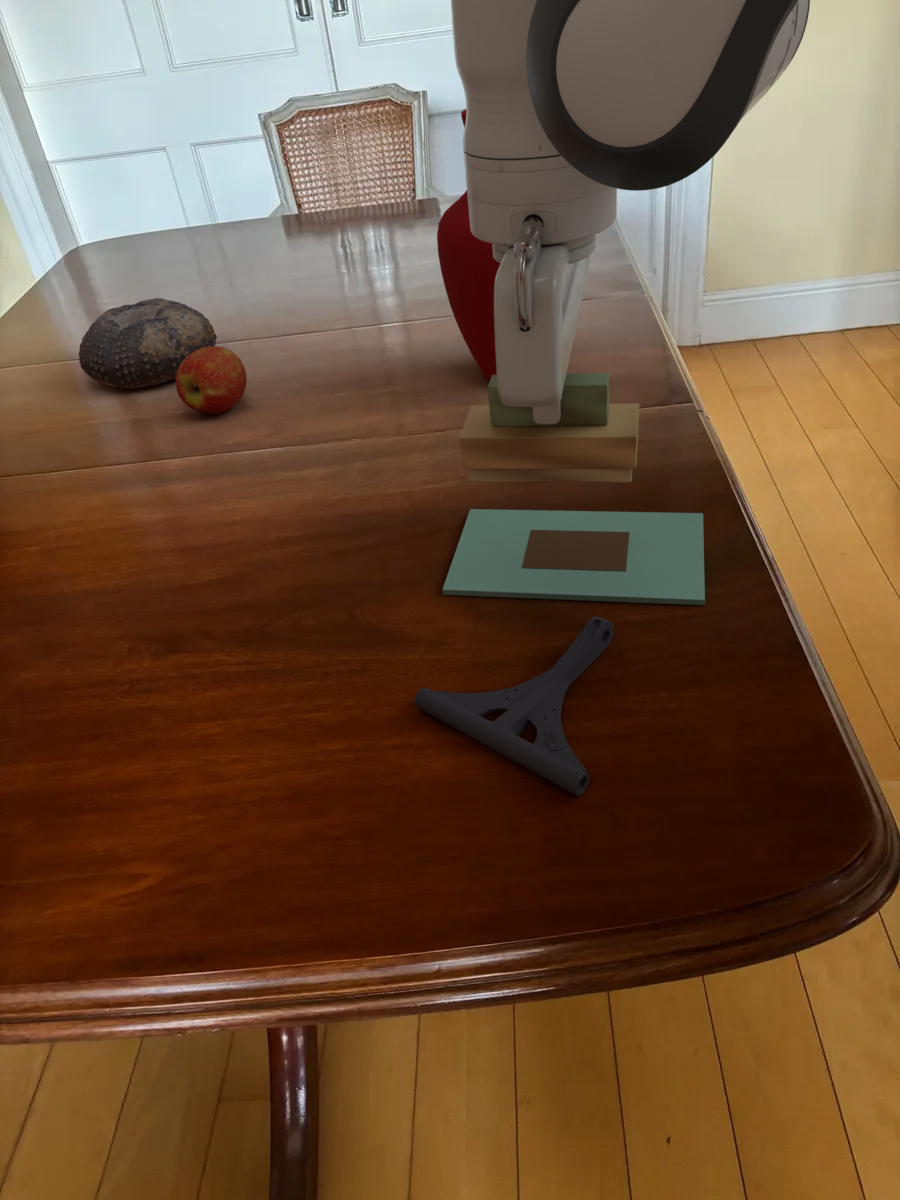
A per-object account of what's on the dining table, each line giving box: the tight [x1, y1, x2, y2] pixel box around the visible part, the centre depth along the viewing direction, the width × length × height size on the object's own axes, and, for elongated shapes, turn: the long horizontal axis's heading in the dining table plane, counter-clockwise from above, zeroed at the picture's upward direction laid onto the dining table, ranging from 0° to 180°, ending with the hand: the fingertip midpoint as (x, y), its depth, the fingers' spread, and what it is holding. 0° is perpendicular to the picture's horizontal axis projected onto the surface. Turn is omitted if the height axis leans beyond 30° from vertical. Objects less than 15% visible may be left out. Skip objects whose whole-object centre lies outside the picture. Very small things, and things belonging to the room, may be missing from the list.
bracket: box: [413, 616, 615, 797], centre depth 66 cm, size 14×15×3 cm
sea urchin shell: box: [78, 297, 218, 390], centre depth 125 cm, size 19×19×10 cm
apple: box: [175, 346, 248, 415], centre depth 112 cm, size 8×8×8 cm
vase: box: [436, 108, 501, 382], centre depth 104 cm, size 15×15×30 cm
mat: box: [441, 508, 706, 606], centre depth 80 cm, size 22×13×1 cm, turn 78°
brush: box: [458, 372, 640, 483], centre depth 62 cm, size 12×5×7 cm, turn 79°
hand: (550, 407), depth 62 cm, fingers closed on brush
